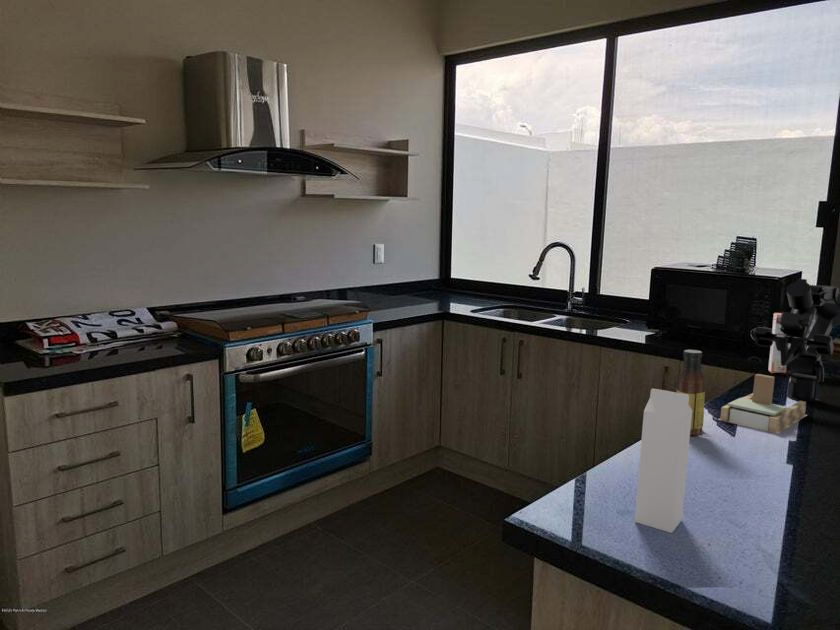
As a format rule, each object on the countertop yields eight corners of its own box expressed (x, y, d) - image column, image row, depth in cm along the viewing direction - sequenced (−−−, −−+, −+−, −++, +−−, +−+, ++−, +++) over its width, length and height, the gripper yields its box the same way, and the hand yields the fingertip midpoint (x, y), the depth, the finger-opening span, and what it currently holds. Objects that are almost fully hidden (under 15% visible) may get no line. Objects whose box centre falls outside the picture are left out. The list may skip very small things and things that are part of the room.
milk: (645, 510, 109) (656, 384, 106) (682, 520, 105) (694, 391, 102) (634, 522, 104) (644, 391, 101) (672, 534, 100) (684, 398, 97)
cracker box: (812, 374, 221) (819, 314, 218) (816, 378, 215) (824, 317, 213) (767, 370, 226) (773, 311, 223) (770, 373, 220) (777, 313, 217)
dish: (742, 414, 166) (743, 402, 165) (780, 422, 159) (781, 410, 159) (729, 421, 159) (730, 408, 159) (768, 430, 153) (769, 417, 153)
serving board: (750, 406, 177) (752, 391, 177) (807, 417, 167) (809, 402, 167) (717, 422, 161) (718, 406, 160) (777, 436, 151) (779, 419, 150)
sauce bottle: (697, 429, 155) (705, 349, 152) (706, 437, 148) (714, 354, 146) (669, 427, 155) (676, 347, 152) (677, 435, 149) (684, 352, 146)
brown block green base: (740, 399, 166) (743, 371, 165) (786, 409, 158) (789, 379, 157) (727, 405, 160) (730, 376, 159) (774, 415, 152) (777, 384, 151)
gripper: (758, 298, 178) (740, 340, 172) (836, 305, 165) (819, 352, 159) (765, 323, 185) (747, 365, 178) (840, 332, 171) (824, 378, 165)
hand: (782, 364), depth 170 cm, fingers closed
